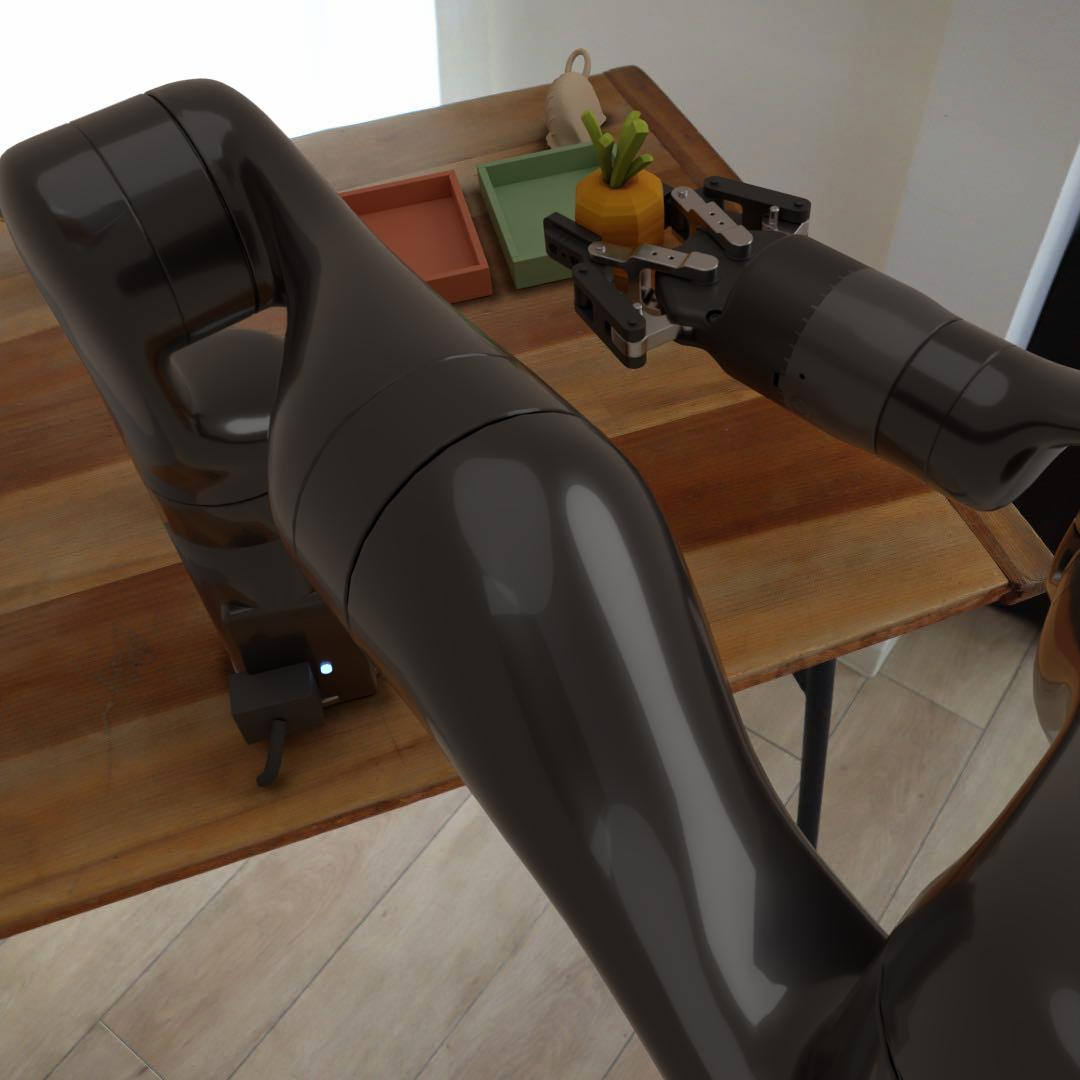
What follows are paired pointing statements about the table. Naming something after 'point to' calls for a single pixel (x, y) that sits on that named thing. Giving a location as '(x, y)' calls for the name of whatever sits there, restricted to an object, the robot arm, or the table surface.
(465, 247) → the terracotta tray
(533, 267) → the green tray
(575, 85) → the decorative ornament
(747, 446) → the table surface
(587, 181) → the carrot
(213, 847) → the table surface
